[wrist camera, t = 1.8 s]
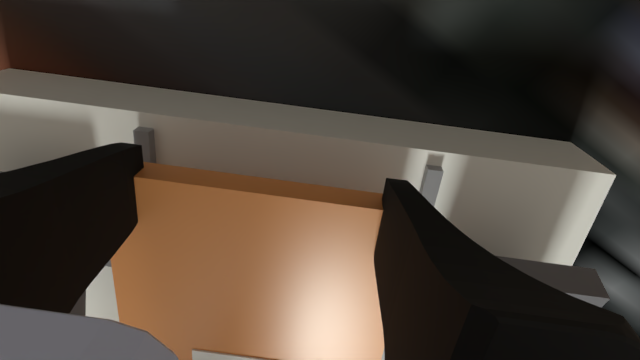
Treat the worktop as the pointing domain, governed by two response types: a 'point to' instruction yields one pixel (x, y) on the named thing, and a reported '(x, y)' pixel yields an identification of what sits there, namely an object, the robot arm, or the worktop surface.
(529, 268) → the grey flat block
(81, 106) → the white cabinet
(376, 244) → the robot arm
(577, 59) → the worktop surface
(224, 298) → the orange slotted panel
